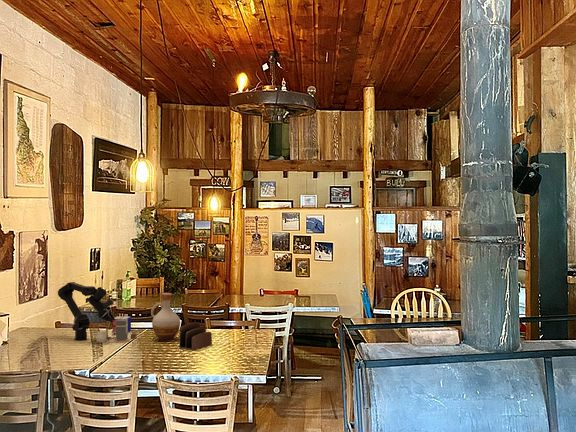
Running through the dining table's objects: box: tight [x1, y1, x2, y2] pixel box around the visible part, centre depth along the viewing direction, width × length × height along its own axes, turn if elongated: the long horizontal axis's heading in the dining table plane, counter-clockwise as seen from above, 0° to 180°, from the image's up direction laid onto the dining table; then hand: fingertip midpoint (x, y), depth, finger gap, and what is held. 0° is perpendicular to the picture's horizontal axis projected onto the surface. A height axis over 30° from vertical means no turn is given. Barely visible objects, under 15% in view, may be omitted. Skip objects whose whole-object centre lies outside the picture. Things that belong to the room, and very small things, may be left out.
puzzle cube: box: [111, 316, 132, 334], centre depth 391 cm, size 10×10×10 cm
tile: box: [113, 338, 131, 344], centre depth 359 cm, size 8×8×1 cm
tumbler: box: [115, 319, 129, 341], centre depth 359 cm, size 6×6×12 cm
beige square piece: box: [96, 330, 107, 343], centre depth 358 cm, size 6×6×6 cm
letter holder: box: [178, 321, 213, 351], centre depth 343 cm, size 10×20×14 cm, turn 152°
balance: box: [95, 324, 116, 340], centre depth 367 cm, size 15×5×10 cm, turn 122°
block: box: [130, 332, 138, 340], centre depth 367 cm, size 3×3×3 cm
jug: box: [150, 292, 181, 342], centre depth 364 cm, size 20×18×30 cm
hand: (113, 321), depth 360 cm, fingers open, 9 cm apart
